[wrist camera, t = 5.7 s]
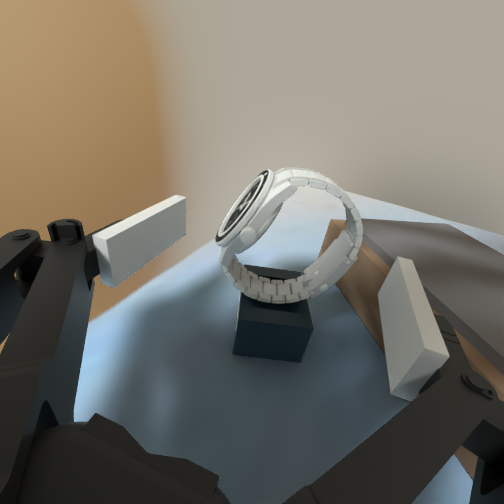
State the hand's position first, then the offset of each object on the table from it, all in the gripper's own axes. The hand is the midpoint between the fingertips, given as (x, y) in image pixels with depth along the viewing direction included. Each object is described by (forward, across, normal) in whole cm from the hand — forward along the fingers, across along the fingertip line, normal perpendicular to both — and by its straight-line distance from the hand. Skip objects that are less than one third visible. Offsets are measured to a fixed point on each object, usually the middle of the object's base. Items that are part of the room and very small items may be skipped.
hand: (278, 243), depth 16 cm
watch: (-1, 0, -7) cm, 7 cm away
